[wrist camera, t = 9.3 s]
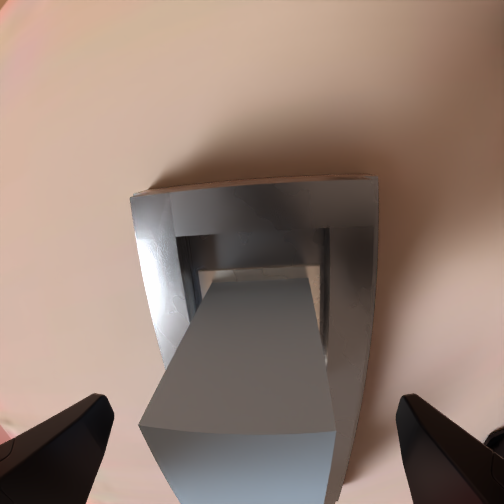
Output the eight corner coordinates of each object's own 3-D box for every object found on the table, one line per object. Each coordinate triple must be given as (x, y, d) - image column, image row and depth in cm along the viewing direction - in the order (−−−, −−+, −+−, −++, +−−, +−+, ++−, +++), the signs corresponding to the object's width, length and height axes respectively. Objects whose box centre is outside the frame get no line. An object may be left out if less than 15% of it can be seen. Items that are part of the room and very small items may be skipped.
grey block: (308, 277, 13) (336, 430, 5) (309, 367, 14) (320, 518, 6) (211, 282, 13) (138, 425, 6) (225, 369, 14) (187, 514, 7)
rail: (367, 174, 13) (510, 213, 4) (336, 487, 20) (343, 581, 11) (147, 189, 14) (-15, 246, 5) (217, 488, 21) (198, 579, 12)
